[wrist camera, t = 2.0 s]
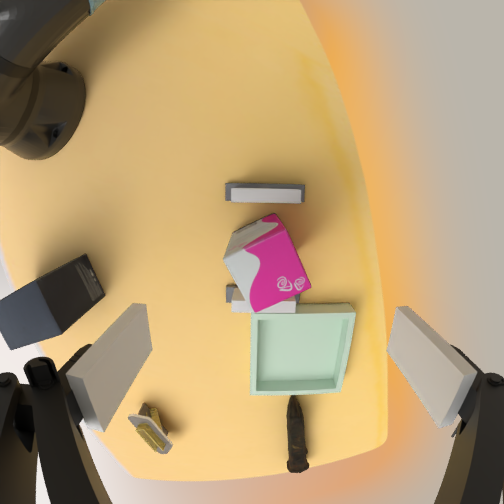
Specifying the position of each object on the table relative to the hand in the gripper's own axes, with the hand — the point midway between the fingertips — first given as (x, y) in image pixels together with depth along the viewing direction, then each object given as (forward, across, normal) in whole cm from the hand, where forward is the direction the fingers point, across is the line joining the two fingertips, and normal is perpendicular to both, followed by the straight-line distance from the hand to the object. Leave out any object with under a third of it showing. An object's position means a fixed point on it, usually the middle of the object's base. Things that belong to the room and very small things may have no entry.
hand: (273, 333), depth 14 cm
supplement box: (+22, 0, 0) cm, 22 cm away
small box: (+22, -29, -7) cm, 37 cm away
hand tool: (+22, +6, -32) cm, 39 cm away
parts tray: (+21, +5, -14) cm, 26 cm away
